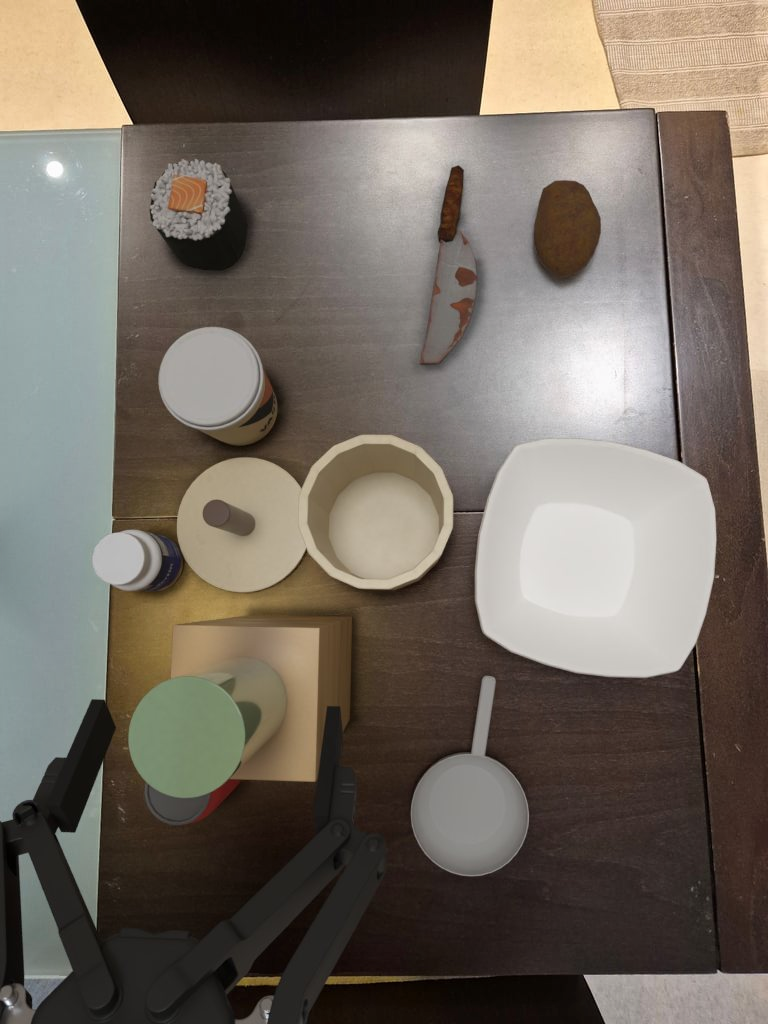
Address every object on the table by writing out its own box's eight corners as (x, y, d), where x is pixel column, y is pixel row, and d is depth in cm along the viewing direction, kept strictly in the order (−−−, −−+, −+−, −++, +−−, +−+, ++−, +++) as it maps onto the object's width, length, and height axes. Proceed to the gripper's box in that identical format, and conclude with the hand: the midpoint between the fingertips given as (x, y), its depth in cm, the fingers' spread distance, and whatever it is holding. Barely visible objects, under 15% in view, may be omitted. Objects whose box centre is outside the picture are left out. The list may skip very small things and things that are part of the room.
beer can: (218, 709, 73) (179, 732, 61) (264, 758, 72) (233, 791, 60) (170, 757, 72) (121, 789, 60) (215, 807, 72) (174, 849, 60)
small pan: (403, 851, 70) (402, 865, 66) (431, 662, 72) (432, 666, 68) (515, 871, 70) (520, 887, 66) (541, 681, 71) (548, 685, 68)
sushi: (167, 268, 78) (139, 231, 70) (180, 194, 79) (154, 149, 71) (241, 276, 78) (221, 240, 70) (254, 202, 78) (235, 158, 70)
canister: (196, 747, 49) (124, 796, 37) (200, 655, 49) (131, 674, 37) (286, 749, 48) (242, 800, 36) (289, 657, 49) (247, 677, 37)
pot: (319, 588, 73) (295, 587, 59) (323, 464, 75) (300, 433, 60) (446, 591, 73) (452, 590, 58) (447, 465, 74) (453, 435, 60)
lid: (177, 591, 74) (134, 590, 63) (183, 458, 76) (142, 435, 65) (310, 593, 73) (291, 593, 62) (314, 459, 75) (296, 436, 64)
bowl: (489, 440, 74) (498, 421, 66) (695, 476, 73) (732, 461, 64) (453, 643, 72) (458, 650, 64) (664, 684, 71) (698, 697, 62)
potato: (587, 193, 77) (602, 158, 70) (600, 282, 76) (616, 255, 69) (524, 201, 77) (533, 167, 71) (536, 290, 76) (546, 263, 70)
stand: (248, 716, 72) (165, 777, 49) (252, 614, 74) (172, 624, 50) (349, 719, 72) (315, 782, 48) (352, 616, 73) (319, 627, 49)
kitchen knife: (465, 369, 75) (416, 360, 74) (462, 373, 76) (415, 364, 76) (497, 171, 76) (450, 161, 76) (493, 179, 78) (447, 169, 77)
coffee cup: (284, 454, 75) (259, 428, 63) (194, 453, 76) (152, 427, 64) (287, 365, 76) (262, 323, 64) (198, 365, 77) (157, 323, 65)
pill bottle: (153, 603, 74) (112, 604, 64) (118, 560, 75) (72, 555, 65) (196, 565, 74) (162, 561, 64) (161, 523, 75) (122, 512, 65)
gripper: (-198, 1216, 29) (30, 747, 46) (433, 1258, 28) (432, 760, 44) (-313, 1175, 24) (-13, 669, 41) (439, 1223, 23) (435, 681, 40)
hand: (218, 716), depth 43 cm, fingers open, 13 cm apart
